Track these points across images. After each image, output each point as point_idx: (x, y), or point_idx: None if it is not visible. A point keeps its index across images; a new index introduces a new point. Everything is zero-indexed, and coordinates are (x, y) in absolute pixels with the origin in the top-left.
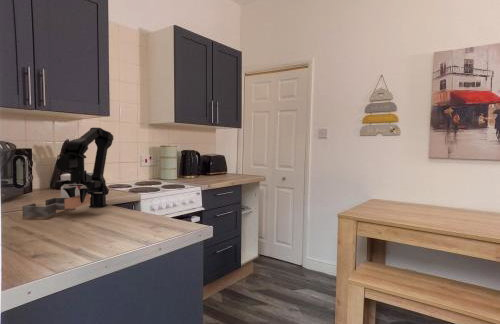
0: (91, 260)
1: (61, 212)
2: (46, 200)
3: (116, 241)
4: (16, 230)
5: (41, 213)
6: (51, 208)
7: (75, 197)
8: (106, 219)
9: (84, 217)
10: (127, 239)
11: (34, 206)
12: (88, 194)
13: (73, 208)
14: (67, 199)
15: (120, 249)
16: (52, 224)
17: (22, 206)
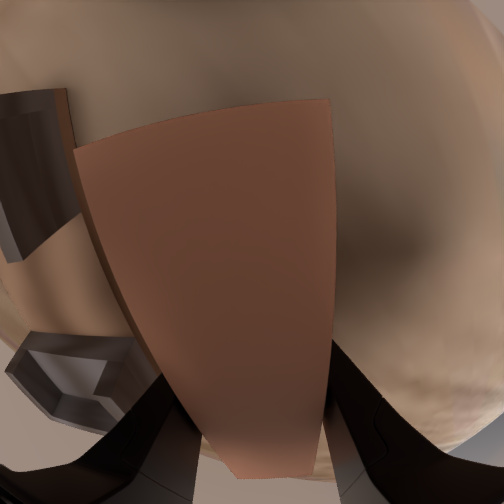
0: (449, 449)
1: (112, 284)
2: None
3: (483, 415)
4: (215, 452)
5: None
6: None
7: (270, 447)
8: (481, 317)
9: (363, 321)
10: (500, 402)
11: (92, 431)
12: (332, 199)
13: (62, 114)
14: (264, 478)
15: (483, 424)
16: None
17: (51, 419)
